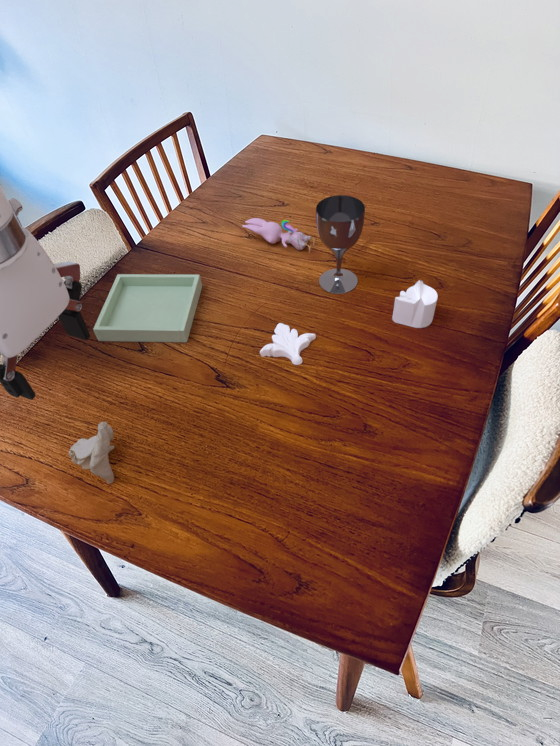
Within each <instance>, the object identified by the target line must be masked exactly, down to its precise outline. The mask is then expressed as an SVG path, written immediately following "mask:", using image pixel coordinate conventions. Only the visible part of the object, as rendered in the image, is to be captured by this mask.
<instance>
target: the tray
mask: <svg viewBox="0 0 560 746" xmlns="http://www.w3.org/2000/svg"><path fill="white" fill-rule="evenodd" d="M113 281H114V282H113V284H112V286H111V288H110V290H109V293H108V295H107V297H106V299H105V302H104V304H103V305H102V308H101V311H100V313H99V315H98V317H97V320H96V321H95V324H94V326H93V328H92V330H93V333H94V335H95V337H96V339H97V340H98V342H133V343H135V342H136V343H139V342H140V343H141V342H142V343H188V340H189V337H190V333H191V329H192V326H193V322H194V318H195V315H196V312H197V307H198V304H199V300H200V296H201V292H202V289H203V283H202V278H201V275H200V274H195V273H194V274H188V273H187V274H183V273H182V274H178V273H177V274H175V273H174V274H173V273H172V274H170V273H169V274H168V273H167V274H165V273H163V274H162V273H159V274H157V273H155V274H154V273H153V274H152V273H150V274H149V273H148V274H147V273H140V274H139V273H138V274H135V273H126V274H125V273H117V275H116V276H115V279H114V280H113Z"/></svg>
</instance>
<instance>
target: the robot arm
mask: <svg viewBox="0 0 560 746" xmlns="http://www.w3.org/2000/svg"><path fill="white" fill-rule="evenodd" d="M22 211H23V205H22V204H21V202H20V201H19V200H18V199H16V198H13V197H12V198H10V199H8V197H7V195H6V193H5V191H4V188H3V186H2V185H1V184H0V357H1V356H3V358H2V364H1V363H0V385H2V388H3V389H4V390H5V391H6V393H8V394H9V395H10V396H11V397H14V398H17V399H19V398H20V397H22V398H24V399H28V400H30V401H33V400H34V399H35V398H36V395H37V393H36V392H35V390H34V388H32V386H31V384H30V383H29V382H28V380H27V378H26V377H25V376H24V373H22V372H20V371H17V370H16V369H17V361H18V355H19V354H21V353H22V352H23V351H25V350H26V349H27V348H28V347H29V346H30V345H31V344H33V342H35V340H36V339H37V338H39V337H40V335H41V334H42V333H43V332H44V331H45V330H47V328H48V327H49V326H50V325H51V324H52V323H54V321H55V320H56V319H57V318H58V320H59V321H60V324H61V325H62V327H63V329H64V331H65V333H66V335H67V336H70V337H74V338H77V339H80V340H83V341H88V340H89V339H90V338H91V333H90V332H89V331H90V330H89V329H88V328H87V323H86V322H85V319H84V317H83V315H82V313H81V311H82V309H83V303H82V302H81V301H80V300H81V294H82V289H83V285H82V283H81V282H80V280H81V265H80V263H77V262H73V261H70V260H67V261H63V262H58V263H54V262H53V261H52V259H51V257H50V256H49V255H48V252H46V250H45V249H44V247H43V246H42V245H41V243H40V242H39V241H38V240H37V238H36V237H35V236H34V235H33V234H32V233H31V232H30V230H29V229H28V228H26V227H24V226H23V225H22V223H21V220H20V219H19V217H18V216H19V213H20V212H22ZM63 278H64V280H63Z"/></svg>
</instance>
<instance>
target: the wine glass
mask: <svg viewBox="0 0 560 746" xmlns="http://www.w3.org/2000/svg"><path fill="white" fill-rule="evenodd" d="M365 218H366V206H365V204H364V202H363V201H362V200H361V199H358V198H357V197H355V196H351V195H345V194H339V195H338V194H337V195H332V196H328V197H325V198H323V199H321V200H320V201H319V202H318V203H317V204H316V207H315V221H316V224H315V225H316V230H317V233H318V234H317V235H318V236H319V239H320V242H321V243H322V244H323V245H324V246H325V247H326V248H327V249H328V250H330V251H331V252H332V253H333V255H334V257H335V266H336V268H332V269H328V270H326V271H324V272H323V273H322V274H321V275H320V276H319V279H318V285H319V286H320V288H321V289H323V290H324V291H326V292H328V293H330V294H336V295H337V294H338V295H339V294H346V293H349V292H352V291H353V290H354V289H355V288H356V287H357V285H358V283H359V281H358V277H357V275H356V274H355V273H354V272H353V271H351V270H348V269H345V268H342V262H343V258H344V255H345V253H346V252H348V251H349V250H350V249H351V248H353V247H354V246H355V245H356V244H357V243H358V242H359V239H360V237H361V235H362V232H363V228H364V225H365Z"/></svg>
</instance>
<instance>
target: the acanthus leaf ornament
mask: <svg viewBox="0 0 560 746" xmlns="http://www.w3.org/2000/svg"><path fill="white" fill-rule="evenodd" d="M273 331H274V334H272V335H271V341H272V343H267V344H264V346H263V347H262V348H261V349H260V350H259V355H260V357H262V358H264V357H269V358H270V357H273V358H278V357H280V358H281V357H283V358H287V359H289V360H290V361H291V364H293V365H294V366H301V365H302V363H303V362H304V361H303V358H302V356H301V355H300V354H301V352H302V351H303V350H305V349H306V348H308V347H309V346H310V344H311V343H312V341H314V340H315V339H317V334H316V333H310V332H306V333H303V334H301V335H299V332H298V330H297V329H296V328H292V329H291V328H290V326H289V325H288V324H285V323H283V322H279V323H278V324H276V327H275V328H274V330H273Z"/></svg>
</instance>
